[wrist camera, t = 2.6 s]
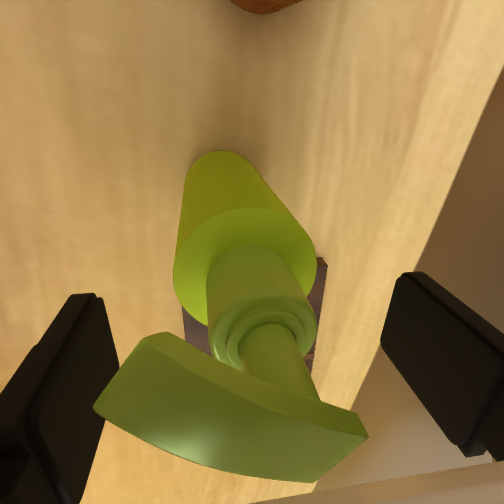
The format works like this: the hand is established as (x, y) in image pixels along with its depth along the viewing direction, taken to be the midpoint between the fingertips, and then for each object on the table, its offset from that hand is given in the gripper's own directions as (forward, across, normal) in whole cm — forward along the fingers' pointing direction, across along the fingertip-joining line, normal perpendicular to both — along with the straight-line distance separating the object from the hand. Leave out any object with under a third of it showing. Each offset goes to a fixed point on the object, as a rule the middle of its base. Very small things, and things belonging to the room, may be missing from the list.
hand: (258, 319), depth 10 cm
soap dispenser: (+16, +1, 0) cm, 16 cm away
